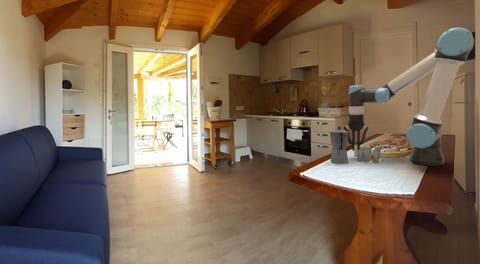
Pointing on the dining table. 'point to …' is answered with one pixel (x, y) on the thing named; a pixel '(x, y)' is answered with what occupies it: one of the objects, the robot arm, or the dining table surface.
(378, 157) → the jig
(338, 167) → the dining table surface
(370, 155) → the nut
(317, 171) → the dining table surface
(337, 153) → the moka pot
